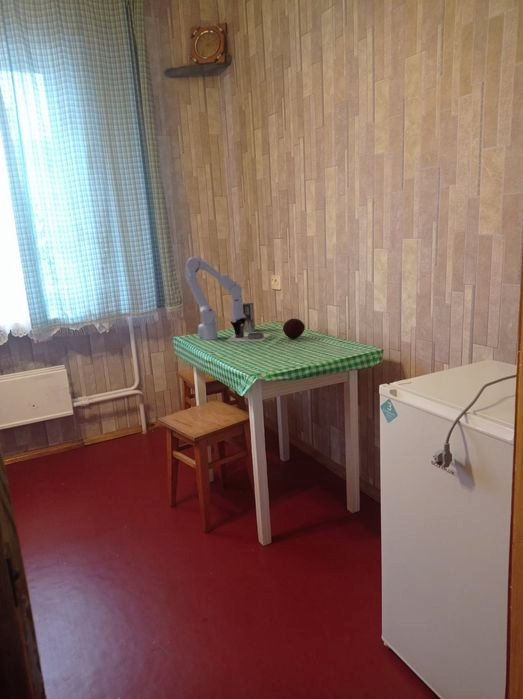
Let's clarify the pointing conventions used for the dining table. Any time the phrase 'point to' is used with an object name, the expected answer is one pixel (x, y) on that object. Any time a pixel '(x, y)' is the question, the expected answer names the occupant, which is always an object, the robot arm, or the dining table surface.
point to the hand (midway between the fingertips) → (239, 333)
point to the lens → (240, 332)
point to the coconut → (293, 328)
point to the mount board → (250, 337)
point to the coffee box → (248, 317)
